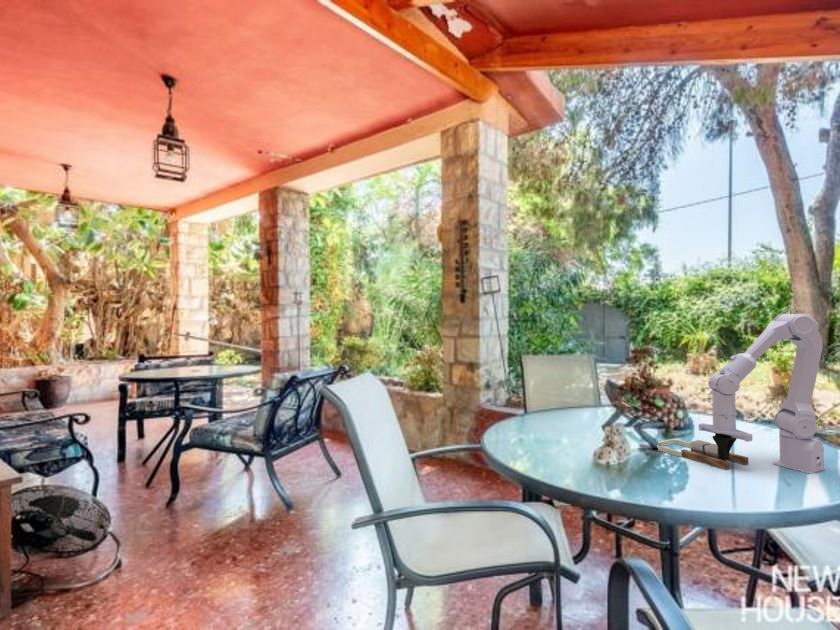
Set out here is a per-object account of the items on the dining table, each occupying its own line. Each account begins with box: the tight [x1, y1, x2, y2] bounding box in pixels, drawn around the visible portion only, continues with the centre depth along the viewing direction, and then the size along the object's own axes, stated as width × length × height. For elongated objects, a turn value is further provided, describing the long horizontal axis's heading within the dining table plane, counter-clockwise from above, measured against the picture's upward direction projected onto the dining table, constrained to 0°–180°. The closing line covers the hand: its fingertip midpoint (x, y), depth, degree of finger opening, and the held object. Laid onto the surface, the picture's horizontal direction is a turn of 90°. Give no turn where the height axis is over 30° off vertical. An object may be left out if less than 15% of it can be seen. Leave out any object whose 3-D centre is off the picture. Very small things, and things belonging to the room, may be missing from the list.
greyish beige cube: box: [690, 439, 712, 455], centre depth 144 cm, size 4×4×4 cm
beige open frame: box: [657, 438, 691, 458], centre depth 151 cm, size 11×12×2 cm
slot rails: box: [680, 448, 750, 471], centre depth 140 cm, size 14×10×2 cm
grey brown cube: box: [704, 443, 728, 462], centre depth 140 cm, size 4×4×4 cm
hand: (724, 459), depth 137 cm, fingers closed
